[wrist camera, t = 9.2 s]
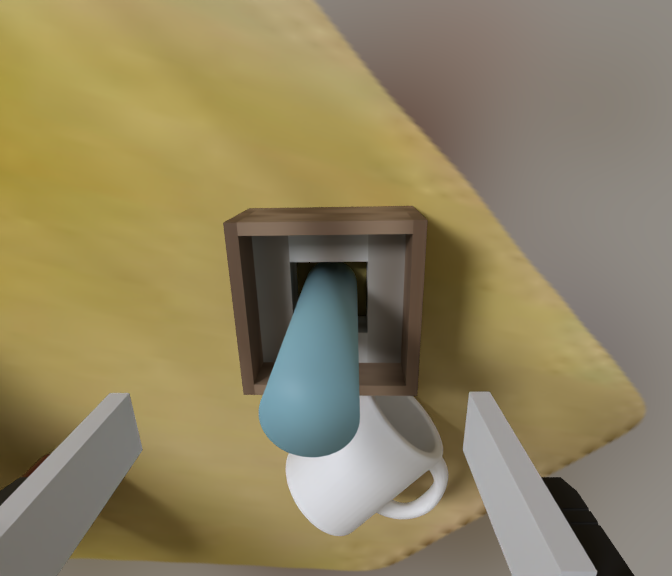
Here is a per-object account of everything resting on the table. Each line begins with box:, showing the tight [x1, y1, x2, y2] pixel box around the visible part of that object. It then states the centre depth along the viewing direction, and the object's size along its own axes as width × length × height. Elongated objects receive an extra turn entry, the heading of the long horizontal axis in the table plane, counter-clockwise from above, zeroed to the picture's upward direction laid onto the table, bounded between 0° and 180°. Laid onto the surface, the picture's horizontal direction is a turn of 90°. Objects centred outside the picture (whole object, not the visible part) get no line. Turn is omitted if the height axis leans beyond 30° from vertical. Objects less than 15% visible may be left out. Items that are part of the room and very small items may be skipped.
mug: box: [286, 396, 448, 536], centre depth 31 cm, size 12×10×8 cm
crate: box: [223, 206, 427, 396], centre depth 27 cm, size 12×12×6 cm
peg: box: [259, 262, 360, 457], centre depth 23 cm, size 4×4×16 cm
